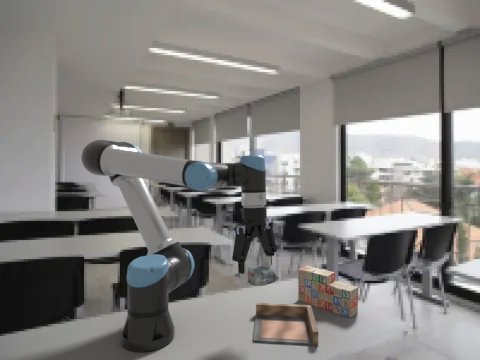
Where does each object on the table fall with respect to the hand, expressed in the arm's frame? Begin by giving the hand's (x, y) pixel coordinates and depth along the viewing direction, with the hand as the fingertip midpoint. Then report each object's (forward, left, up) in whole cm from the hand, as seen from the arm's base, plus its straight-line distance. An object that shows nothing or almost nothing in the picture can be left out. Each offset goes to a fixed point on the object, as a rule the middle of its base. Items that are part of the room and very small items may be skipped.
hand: (256, 279), depth 99 cm
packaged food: (0, 0, -1) cm, 1 cm away
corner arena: (+9, +3, -16) cm, 19 cm away
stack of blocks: (+25, +22, -17) cm, 37 cm away
